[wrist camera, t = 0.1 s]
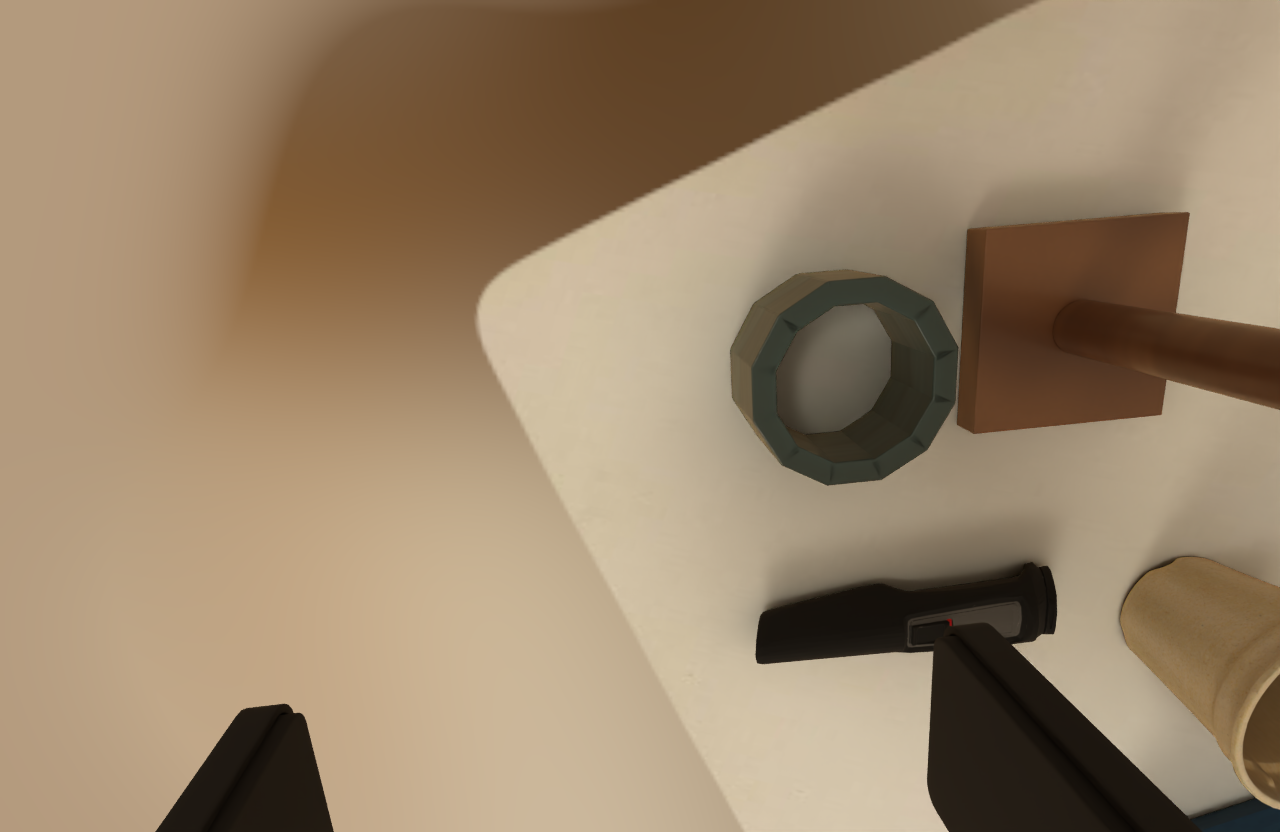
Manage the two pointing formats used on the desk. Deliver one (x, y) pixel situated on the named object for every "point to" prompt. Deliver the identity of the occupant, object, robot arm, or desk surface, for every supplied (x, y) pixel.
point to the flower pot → (1216, 658)
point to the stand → (1093, 326)
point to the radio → (1241, 818)
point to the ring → (902, 408)
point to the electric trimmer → (906, 617)
